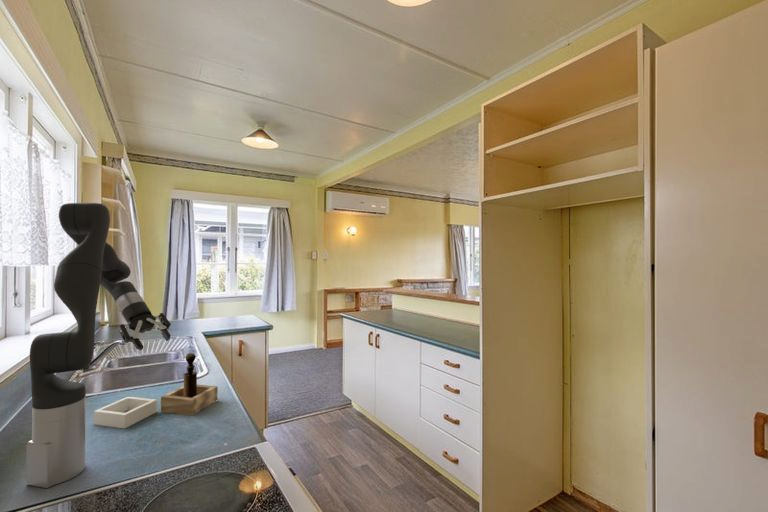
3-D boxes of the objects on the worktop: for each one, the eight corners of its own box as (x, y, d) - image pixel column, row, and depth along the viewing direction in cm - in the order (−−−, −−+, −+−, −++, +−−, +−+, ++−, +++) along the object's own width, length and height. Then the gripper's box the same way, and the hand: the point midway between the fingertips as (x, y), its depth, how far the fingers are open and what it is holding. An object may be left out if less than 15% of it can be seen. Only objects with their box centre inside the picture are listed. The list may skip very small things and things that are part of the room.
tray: (124, 428, 105) (124, 415, 105) (93, 424, 107) (93, 411, 107) (156, 411, 116) (156, 399, 116) (128, 408, 118) (128, 396, 118)
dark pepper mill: (180, 403, 122) (180, 351, 122) (201, 400, 125) (201, 350, 125) (178, 411, 116) (178, 357, 116) (200, 408, 119) (200, 354, 119)
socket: (192, 415, 113) (192, 400, 113) (160, 411, 116) (161, 396, 116) (217, 400, 125) (217, 386, 125) (188, 397, 128) (188, 383, 128)
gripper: (112, 307, 117) (134, 346, 113) (157, 296, 129) (179, 330, 125) (107, 320, 120) (129, 358, 116) (152, 308, 132) (173, 342, 128)
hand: (155, 344), depth 120 cm, fingers open, 8 cm apart
